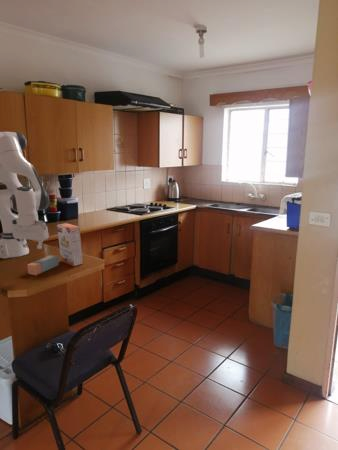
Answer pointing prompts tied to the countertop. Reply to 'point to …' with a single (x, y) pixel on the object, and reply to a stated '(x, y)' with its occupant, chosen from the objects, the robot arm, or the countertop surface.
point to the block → (34, 268)
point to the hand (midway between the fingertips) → (32, 247)
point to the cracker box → (70, 244)
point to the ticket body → (48, 262)
